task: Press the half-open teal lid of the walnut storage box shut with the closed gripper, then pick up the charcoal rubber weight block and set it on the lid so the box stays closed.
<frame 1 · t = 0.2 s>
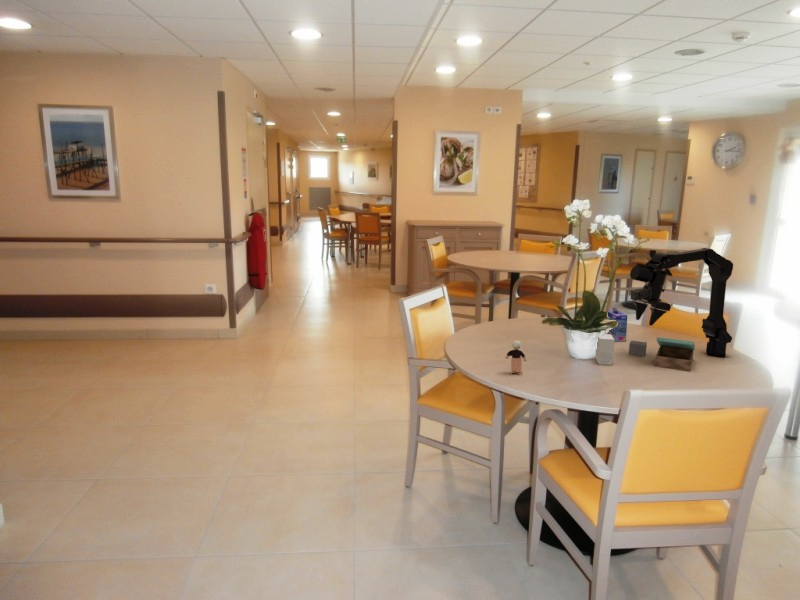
hand: (643, 322, 210), 15 cm above the table, tool pointing down, fingers open, 9 cm apart
grandmother figurine: (515, 373, 199), on the table
small box: (603, 362, 210), on the table
lid: (675, 343, 207), point 8 cm above the table, hinge at 22.0°
storage box: (673, 362, 208), on the table
ink cartridge box: (615, 339, 242), on the table
weight block: (637, 354, 219), on the table
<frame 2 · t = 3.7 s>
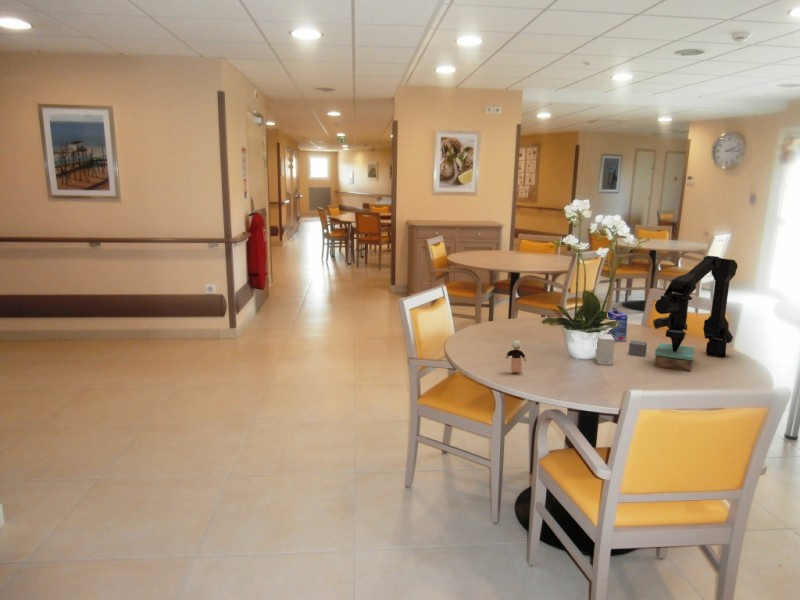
hand: (674, 351, 205), 5 cm above the table, tool pointing down, fingers closed, pressing on lid
lid: (675, 351, 207), point 5 cm above the table, hinge at 1.7°, touching gripper
everything else where it was.
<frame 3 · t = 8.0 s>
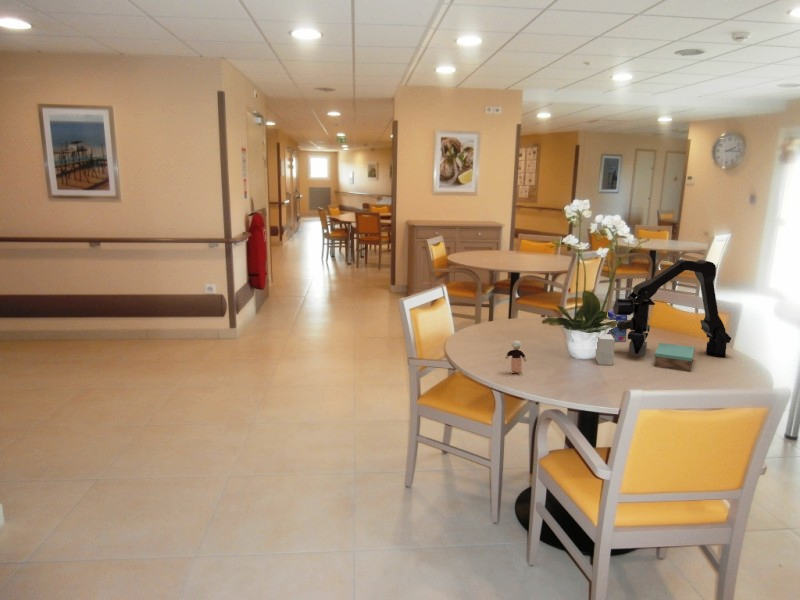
hand: (637, 351, 219), 1 cm above the table, tool pointing down, fingers closed on weight block, 5 cm apart
lid: (675, 351, 207), point 5 cm above the table, hinge at 0.4°
weight block: (637, 354, 219), on the table, touching gripper
everything else where it was.
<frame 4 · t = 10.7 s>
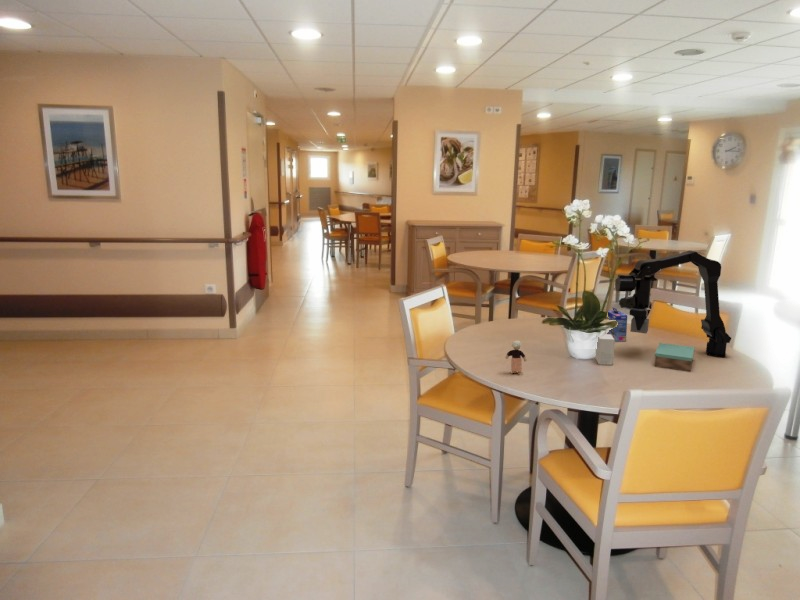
hand: (639, 328, 217), 11 cm above the table, tool pointing down, fingers closed on weight block, 5 cm apart
weight block: (639, 331, 217), point 10 cm above the table, touching gripper
everything else where it was.
when the fingers open (7 cm above the table, at t = 13.4 s): weight block drops 1 cm, resting on lid.
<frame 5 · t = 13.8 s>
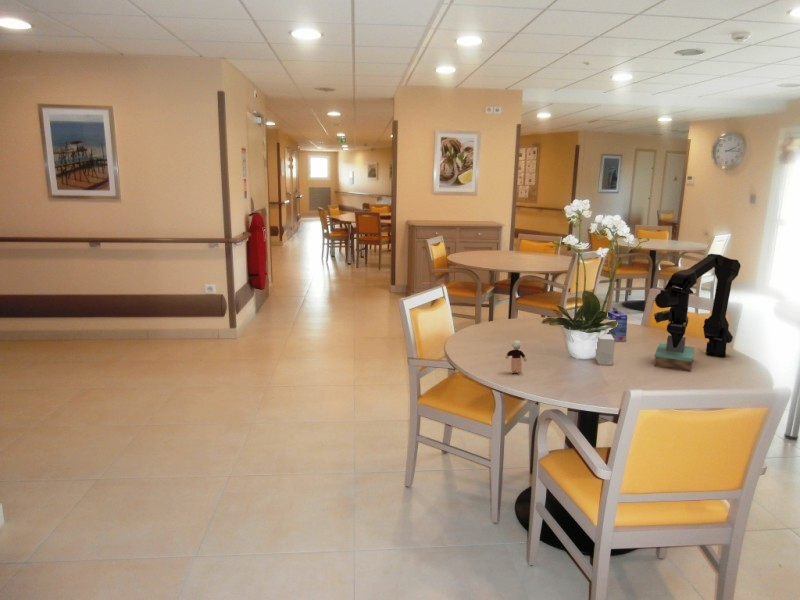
hand: (675, 344, 207), 7 cm above the table, tool pointing down, fingers open, 9 cm apart
lid: (675, 351, 207), point 5 cm above the table, hinge at 0.0°, touching storage box, weight block
weight block: (675, 350, 207), point 5 cm above the table, touching lid
everything else where it was.
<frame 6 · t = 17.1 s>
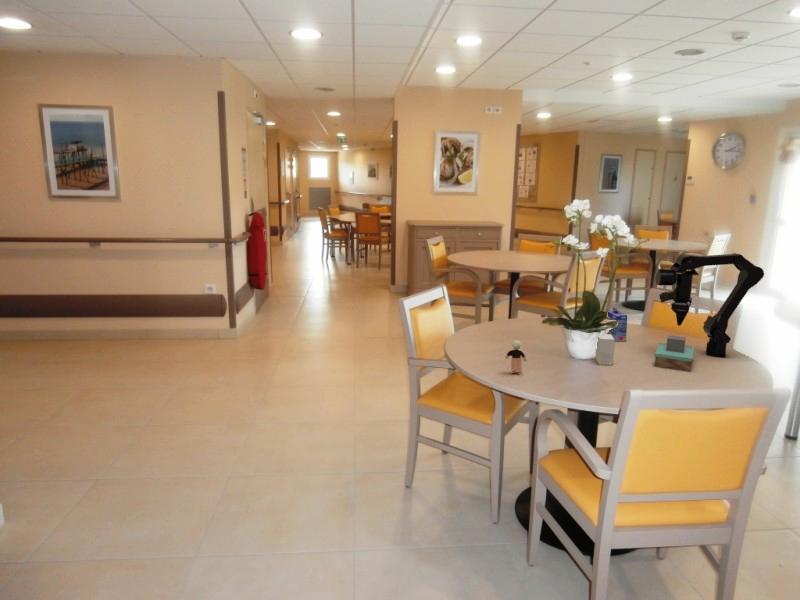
hand: (679, 323, 217), 13 cm above the table, tool pointing down, fingers open, 9 cm apart
lid: (675, 351, 207), point 5 cm above the table, hinge at 0.0°, touching storage box
weight block: (675, 350, 207), point 5 cm above the table
everything else where it was.
at the end: lid at +0° (first picture: +22°); weight block inside the target area on the storage box (0.1 cm from its centre), point 5.2 cm above the storage box's base; weight block tilted 0° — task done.
